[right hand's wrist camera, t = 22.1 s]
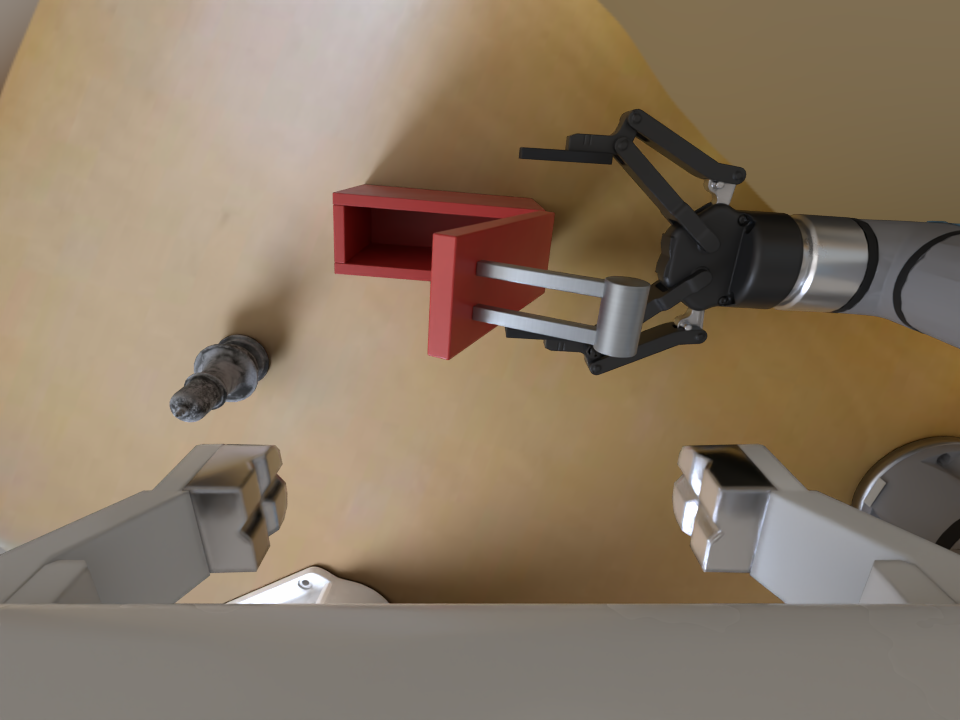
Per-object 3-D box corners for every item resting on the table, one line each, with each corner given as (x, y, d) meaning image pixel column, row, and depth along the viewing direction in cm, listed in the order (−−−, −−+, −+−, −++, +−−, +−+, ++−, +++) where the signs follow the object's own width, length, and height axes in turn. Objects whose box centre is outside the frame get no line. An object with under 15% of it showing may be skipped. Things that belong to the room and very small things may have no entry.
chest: (364, 249, 47) (334, 273, 38) (364, 184, 45) (332, 192, 36) (525, 262, 48) (536, 289, 38) (532, 198, 46) (546, 210, 36)
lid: (426, 355, 24) (621, 402, 21) (432, 232, 22) (649, 265, 19) (529, 290, 38) (657, 313, 35) (538, 210, 36) (676, 227, 32)
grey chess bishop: (217, 323, 50) (141, 372, 39) (277, 343, 51) (220, 396, 39) (207, 375, 52) (133, 436, 41) (265, 393, 53) (208, 458, 41)
